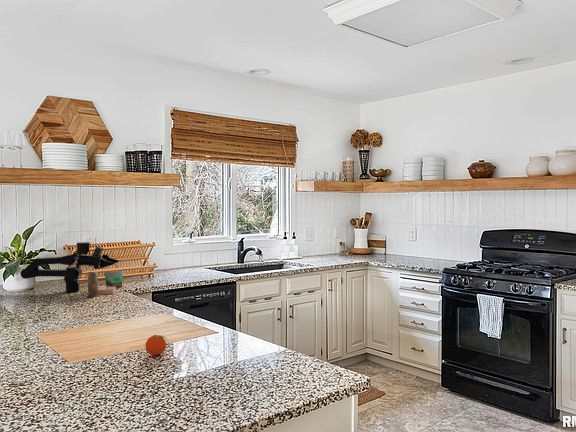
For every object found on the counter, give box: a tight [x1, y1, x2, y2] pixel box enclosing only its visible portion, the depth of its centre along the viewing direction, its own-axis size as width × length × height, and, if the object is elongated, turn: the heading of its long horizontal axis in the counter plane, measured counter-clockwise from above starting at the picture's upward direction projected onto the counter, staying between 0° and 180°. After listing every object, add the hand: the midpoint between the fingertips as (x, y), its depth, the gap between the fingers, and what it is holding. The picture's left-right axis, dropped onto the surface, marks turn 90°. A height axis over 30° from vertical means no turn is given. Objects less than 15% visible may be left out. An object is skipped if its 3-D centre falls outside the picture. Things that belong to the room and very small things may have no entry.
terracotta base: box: [98, 286, 117, 295], centre depth 283 cm, size 9×9×2 cm
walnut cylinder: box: [87, 271, 99, 298], centre depth 273 cm, size 5×5×13 cm
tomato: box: [144, 334, 169, 356], centre depth 172 cm, size 8×7×7 cm
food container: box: [103, 269, 125, 289], centre depth 298 cm, size 12×6×10 cm, turn 143°
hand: (116, 262), depth 289 cm, fingers open, 9 cm apart
